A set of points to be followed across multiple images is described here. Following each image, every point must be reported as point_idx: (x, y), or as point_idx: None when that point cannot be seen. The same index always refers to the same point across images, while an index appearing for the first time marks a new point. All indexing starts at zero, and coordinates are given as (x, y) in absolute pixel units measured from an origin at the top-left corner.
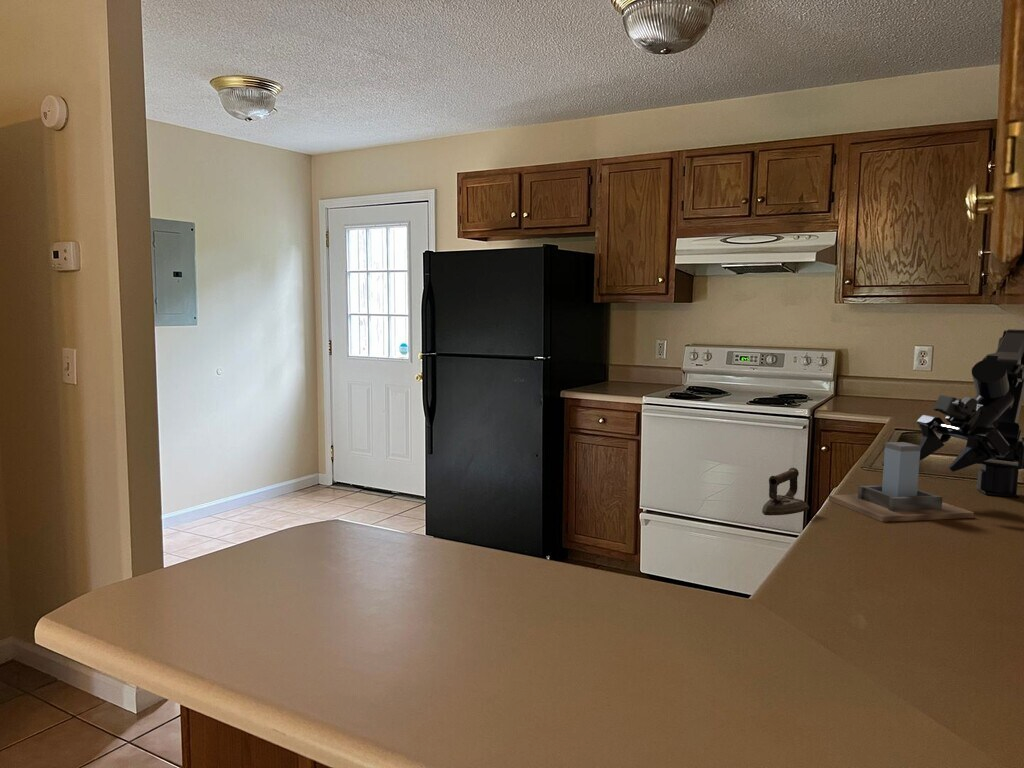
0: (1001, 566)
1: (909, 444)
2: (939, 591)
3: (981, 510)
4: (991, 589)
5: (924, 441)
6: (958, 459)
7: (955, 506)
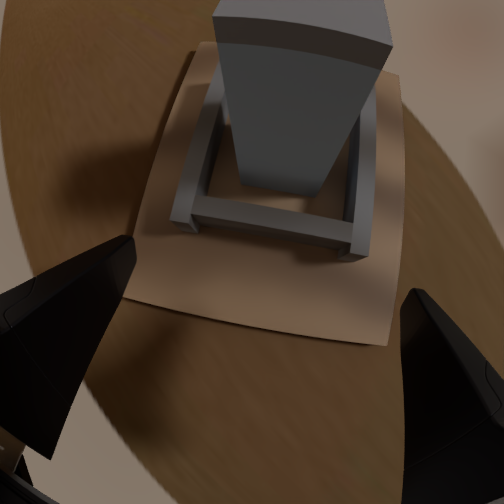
0: (8, 87)
1: (291, 2)
2: (42, 8)
3: (178, 404)
4: (12, 43)
5: (479, 382)
6: (72, 261)
7: (189, 311)
